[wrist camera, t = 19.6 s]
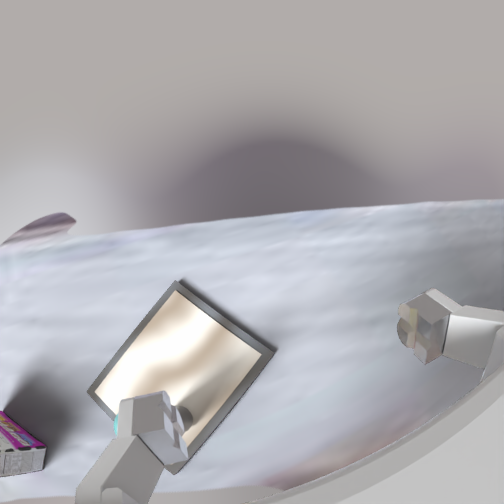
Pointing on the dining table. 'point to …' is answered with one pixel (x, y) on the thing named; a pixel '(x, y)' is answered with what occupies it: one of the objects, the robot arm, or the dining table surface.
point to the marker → (184, 414)
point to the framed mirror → (183, 364)
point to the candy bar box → (18, 449)
